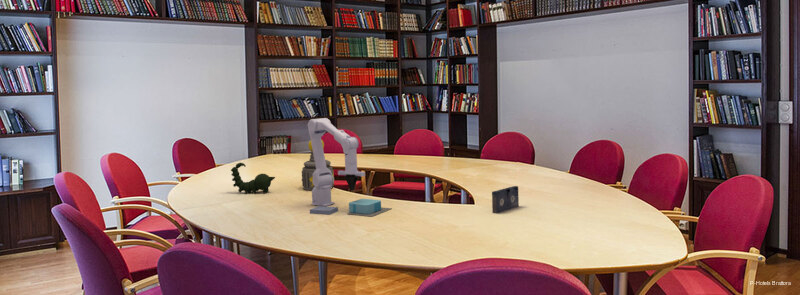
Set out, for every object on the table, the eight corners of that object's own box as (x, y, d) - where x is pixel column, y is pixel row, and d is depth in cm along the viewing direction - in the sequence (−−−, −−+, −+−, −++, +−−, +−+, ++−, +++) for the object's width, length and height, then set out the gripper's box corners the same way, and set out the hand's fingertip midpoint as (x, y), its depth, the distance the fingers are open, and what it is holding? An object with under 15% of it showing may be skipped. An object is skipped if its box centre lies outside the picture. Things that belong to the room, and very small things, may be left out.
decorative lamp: (297, 191, 361) (295, 139, 357) (308, 185, 379) (305, 136, 376) (329, 191, 358) (326, 138, 354) (338, 185, 376) (335, 135, 373)
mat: (347, 214, 296) (347, 213, 296) (367, 206, 311) (367, 206, 311) (372, 216, 289) (372, 216, 289) (391, 208, 304) (391, 208, 304)
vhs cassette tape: (514, 206, 301) (514, 185, 300) (519, 206, 299) (519, 186, 298) (491, 212, 288) (490, 191, 287) (496, 213, 286) (496, 192, 285)
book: (309, 214, 301) (309, 209, 301) (318, 210, 308) (318, 206, 308) (329, 215, 297) (329, 210, 296) (338, 212, 304) (337, 207, 304)
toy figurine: (232, 197, 358) (274, 193, 354) (227, 165, 356) (269, 160, 352) (238, 194, 367) (279, 190, 364) (233, 162, 365) (275, 157, 362)
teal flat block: (347, 212, 299) (367, 214, 292) (347, 202, 298) (367, 205, 292) (362, 207, 309) (382, 209, 302) (362, 198, 308) (382, 200, 302)
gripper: (368, 162, 302) (369, 189, 304) (343, 160, 309) (344, 187, 311) (360, 164, 296) (361, 192, 297) (334, 162, 303) (336, 190, 305)
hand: (352, 190), depth 304 cm, fingers closed
